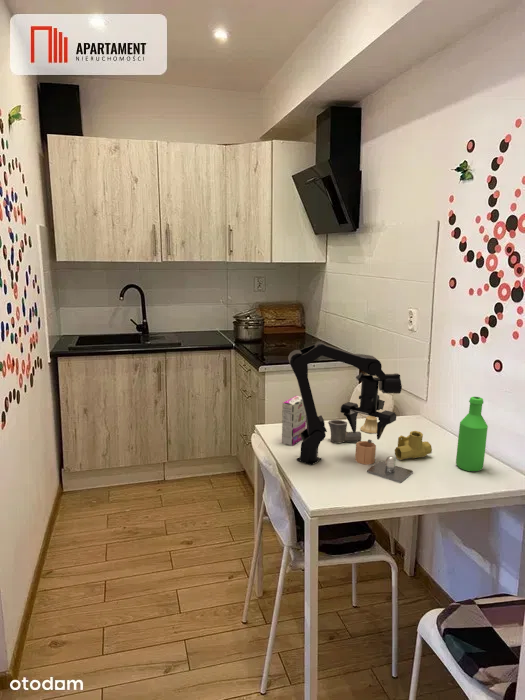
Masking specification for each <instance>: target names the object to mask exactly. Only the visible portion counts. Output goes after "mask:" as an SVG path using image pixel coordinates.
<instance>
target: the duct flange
mask: <svg viewBox="0 0 525 700" xmlns="http://www.w3.org/2000/svg"><path fill="white" fill-rule="evenodd" d="M366 473H367V474H370V475H374V476H377V477H379V478H384V479H386V480H389V481H393V482H396V483H399V484H401V483H402V482H404V481H405V480H406V479H407V478H409V477H410V476H411V475H412V474H413V473H414V470H413V469H408V468H404V467H401V466H398V465H396V458H395V457H394V456H393V455H389V456H386V460H385V461H381V460H380V461H378V462H377V463H375V464H372V466H371V467H369V468H367V469H366ZM408 476H409V477H408Z"/></svg>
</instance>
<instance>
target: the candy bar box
mask: <svg viewBox="0 0 525 700" xmlns="http://www.w3.org/2000/svg"><path fill="white" fill-rule="evenodd" d="M281 410H282V412H281V413H282V414H281V415H282V417H281V419H282V420H281V422H282V423H281V425H282V426H281V427H282V428H281V443H282V444H283V445H288V446H290V447H291V446H292V447H293V446H294V445H296V444H298V443H299V442H300V441H302V439H301V435H300V434H301V433H302V432H303V431H304V430H305V429H306V412H305V409H304V405H303V401H302V397H301V395H295V396H293V397H290V398H288V399H287V400H285V401H283V402H282V409H281Z"/></svg>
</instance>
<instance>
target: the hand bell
mask: <svg viewBox="0 0 525 700" xmlns="http://www.w3.org/2000/svg"><path fill="white" fill-rule="evenodd" d="M372 414H373V413H372ZM377 422H378V417H374V416H369V415H366V416H365V420H364V423H363V425H362V426H361V427H360V428H359V429H360V432H363V433H365V434H377Z"/></svg>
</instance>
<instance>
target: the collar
mask: <svg viewBox="0 0 525 700" xmlns="http://www.w3.org/2000/svg"><path fill="white" fill-rule="evenodd" d="M376 450H377V445H376V444H375V443H374V442H373V441H372V439H368V440H361V441H356V443H355V453H354V454H355V455H354V460H355V462H357V463H358V464H362V465H374V463H375V461H376Z"/></svg>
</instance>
